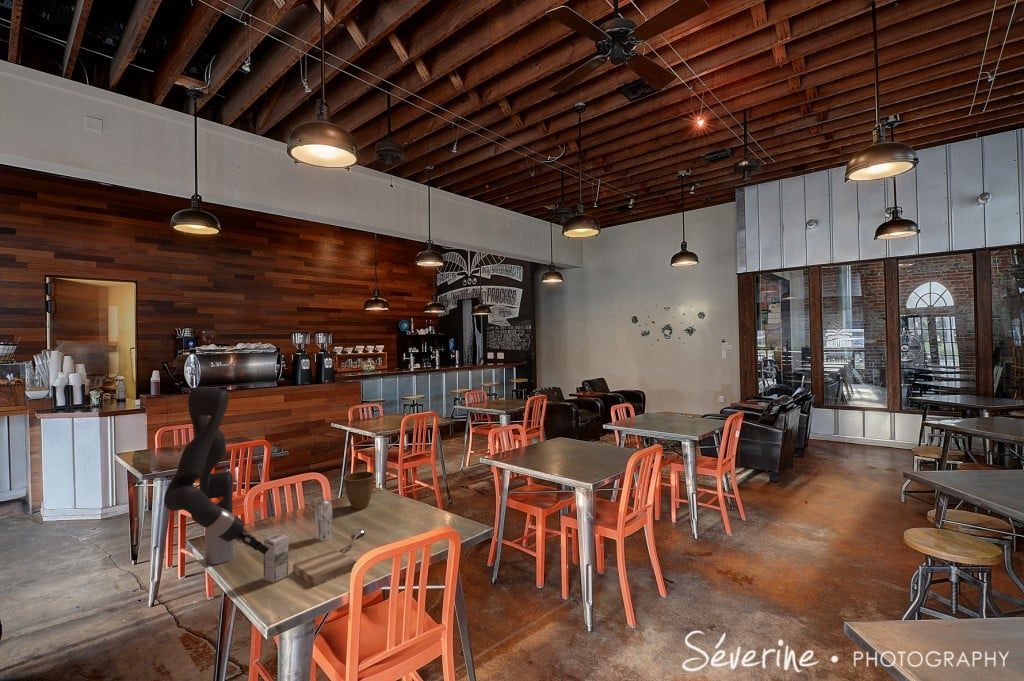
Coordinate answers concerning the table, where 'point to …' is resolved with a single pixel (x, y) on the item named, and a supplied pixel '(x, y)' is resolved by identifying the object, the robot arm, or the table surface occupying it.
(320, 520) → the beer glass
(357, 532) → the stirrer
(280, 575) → the syrup box
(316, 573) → the maple board
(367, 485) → the plant pot
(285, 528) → the table surface
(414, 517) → the table surface
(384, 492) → the table surface
